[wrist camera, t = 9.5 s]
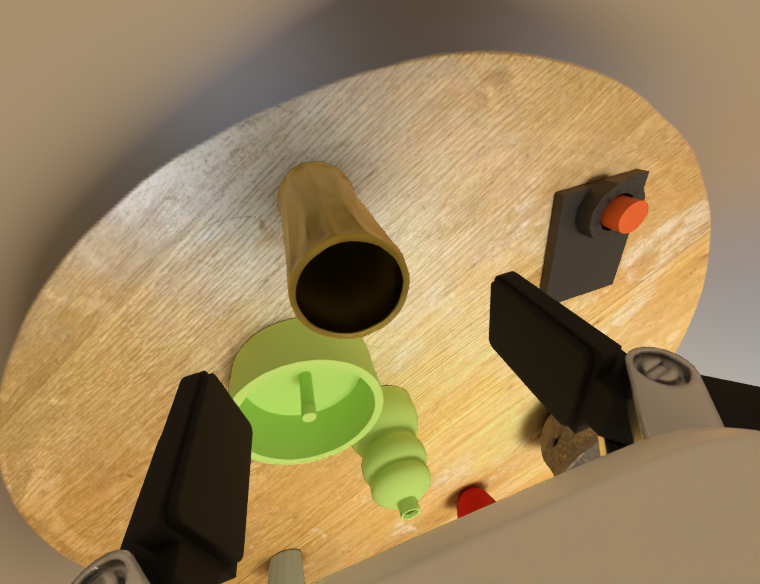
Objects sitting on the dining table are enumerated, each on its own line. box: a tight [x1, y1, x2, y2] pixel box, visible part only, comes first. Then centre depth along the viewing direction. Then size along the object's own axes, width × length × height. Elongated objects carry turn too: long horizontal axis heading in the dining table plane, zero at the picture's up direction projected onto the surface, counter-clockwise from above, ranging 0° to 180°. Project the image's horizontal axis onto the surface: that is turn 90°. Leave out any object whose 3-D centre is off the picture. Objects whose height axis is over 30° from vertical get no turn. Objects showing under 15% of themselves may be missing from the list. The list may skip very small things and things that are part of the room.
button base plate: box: [540, 169, 649, 302], centre depth 34 cm, size 15×10×3 cm
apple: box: [457, 487, 496, 518], centre depth 59 cm, size 10×10×11 cm
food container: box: [228, 318, 431, 520], centre depth 31 cm, size 25×14×13 cm, turn 40°
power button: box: [600, 195, 648, 234], centre depth 29 cm, size 3×3×2 cm
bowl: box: [541, 414, 601, 476], centre depth 52 cm, size 21×21×10 cm
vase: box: [278, 162, 410, 339], centre depth 19 cm, size 6×6×14 cm
